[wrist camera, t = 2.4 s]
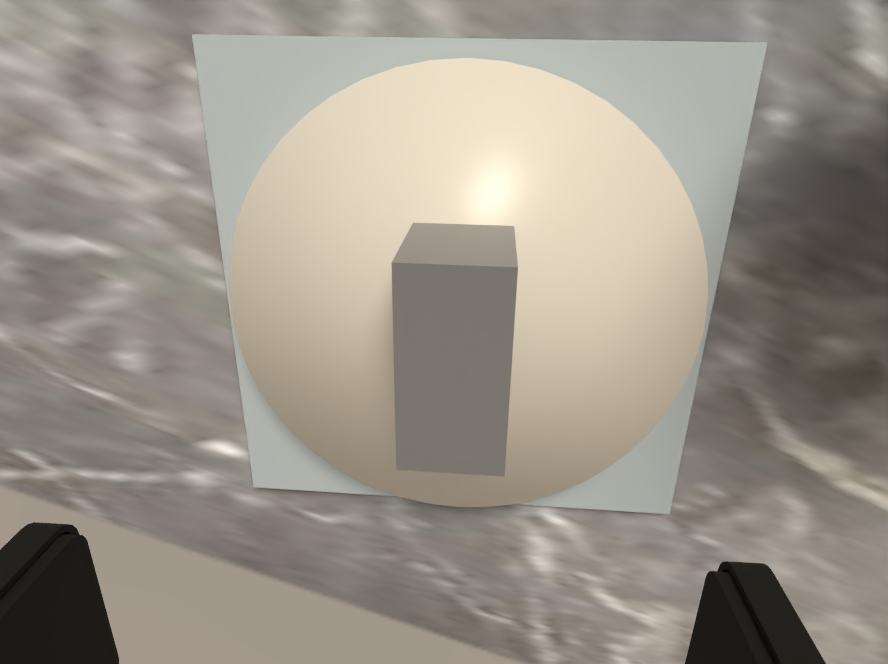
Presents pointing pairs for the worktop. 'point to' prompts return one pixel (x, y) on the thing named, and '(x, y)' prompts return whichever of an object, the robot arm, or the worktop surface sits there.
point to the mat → (580, 61)
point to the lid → (468, 282)
